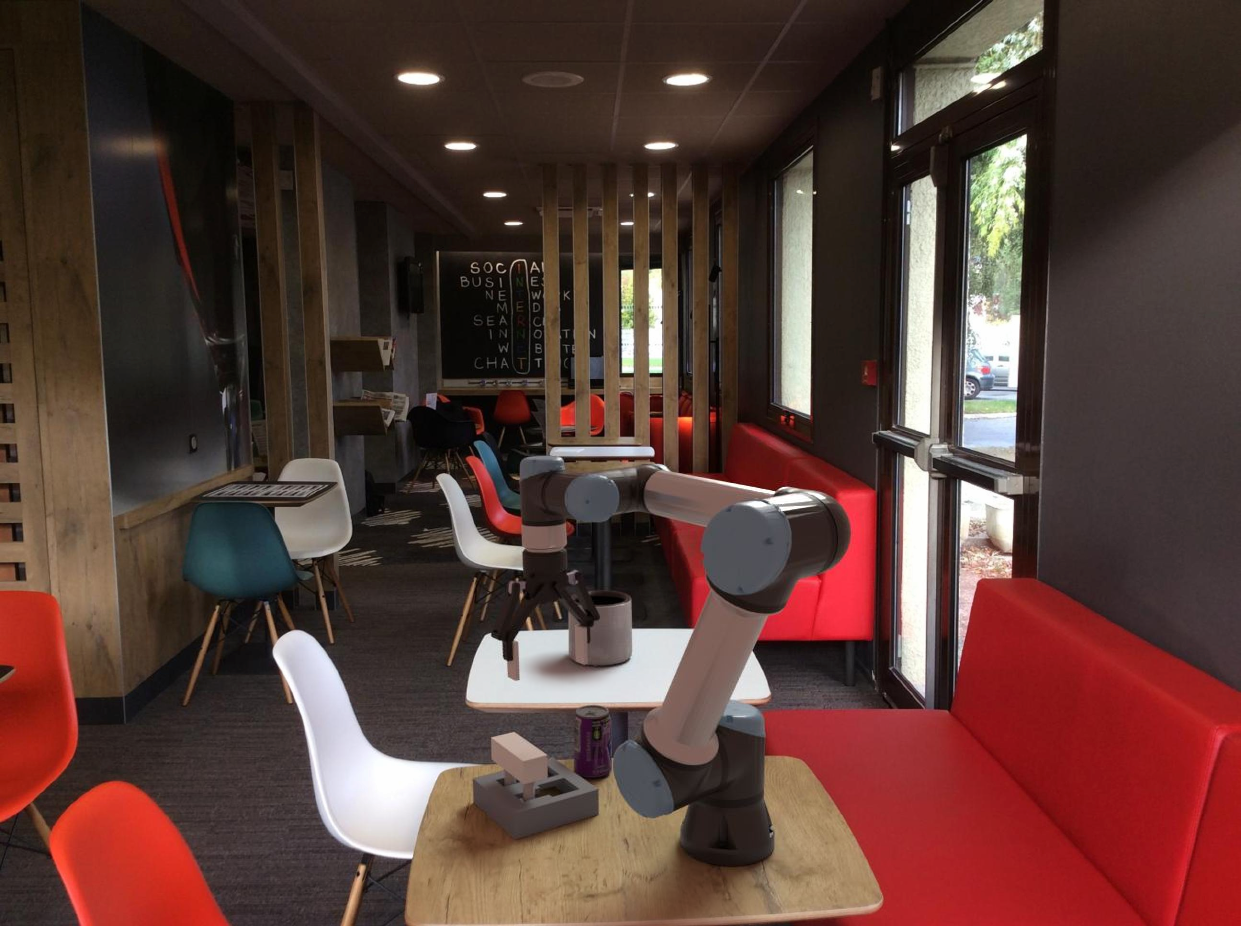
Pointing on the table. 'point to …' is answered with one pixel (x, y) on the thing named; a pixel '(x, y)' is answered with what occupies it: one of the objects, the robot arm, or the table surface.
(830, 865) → the table surface
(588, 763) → the beverage can
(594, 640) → the planter
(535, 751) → the bar
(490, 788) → the keyhole board
